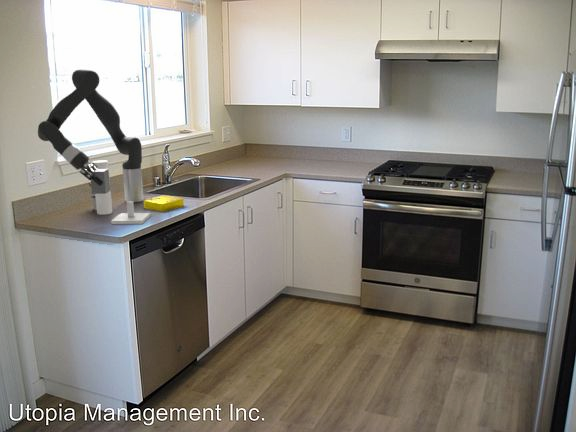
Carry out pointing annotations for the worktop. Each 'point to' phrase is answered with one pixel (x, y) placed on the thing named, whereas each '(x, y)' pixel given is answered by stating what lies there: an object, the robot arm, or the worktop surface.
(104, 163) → the cylindrical container
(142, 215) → the stud plate
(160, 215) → the worktop surface
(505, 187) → the worktop surface
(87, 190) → the house plant
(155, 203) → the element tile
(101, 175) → the tall grey pillar
